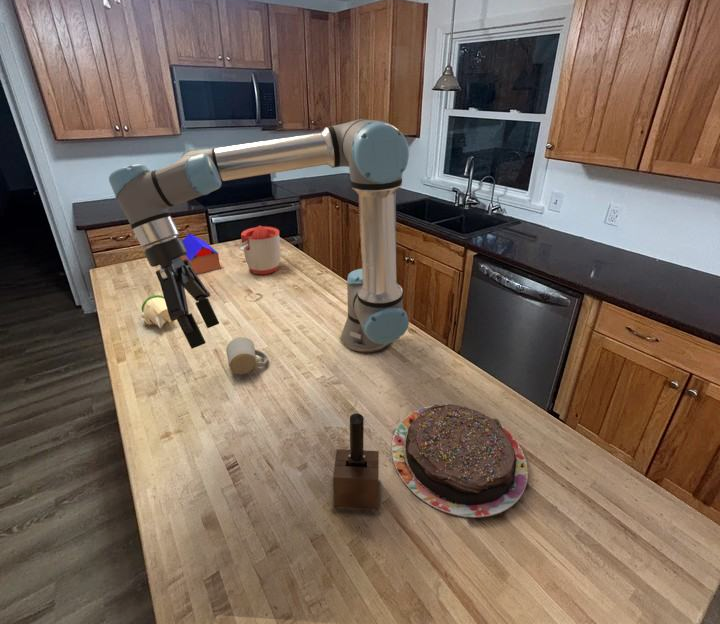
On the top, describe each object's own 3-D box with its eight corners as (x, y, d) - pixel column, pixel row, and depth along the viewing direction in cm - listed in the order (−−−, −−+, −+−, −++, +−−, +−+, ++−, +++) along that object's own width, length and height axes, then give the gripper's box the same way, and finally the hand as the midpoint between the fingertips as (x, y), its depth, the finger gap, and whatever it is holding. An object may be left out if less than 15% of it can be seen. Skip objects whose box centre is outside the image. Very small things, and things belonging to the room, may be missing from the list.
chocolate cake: (388, 406, 96) (389, 385, 93) (503, 409, 95) (507, 388, 92) (394, 520, 70) (395, 495, 67) (550, 525, 69) (558, 501, 67)
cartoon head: (164, 341, 124) (145, 315, 138) (187, 320, 127) (166, 296, 140) (143, 327, 118) (126, 301, 132) (168, 305, 121) (148, 281, 134)
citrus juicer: (235, 270, 168) (229, 225, 160) (270, 259, 179) (266, 217, 170) (253, 281, 158) (247, 235, 149) (289, 269, 168) (286, 225, 160)
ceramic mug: (231, 379, 104) (227, 356, 101) (227, 361, 111) (224, 339, 108) (270, 370, 108) (268, 347, 105) (265, 353, 115) (263, 331, 112)
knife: (348, 498, 73) (347, 423, 65) (349, 486, 75) (348, 412, 67) (364, 499, 73) (365, 424, 65) (364, 487, 75) (365, 413, 67)
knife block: (334, 510, 72) (332, 477, 68) (337, 481, 77) (336, 448, 73) (377, 513, 71) (378, 479, 68) (377, 483, 77) (378, 450, 73)
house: (193, 275, 163) (188, 249, 158) (180, 260, 177) (175, 236, 172) (221, 268, 170) (217, 243, 165) (206, 254, 184) (202, 230, 179)
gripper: (164, 244, 91) (203, 324, 95) (115, 256, 66) (171, 364, 71) (195, 232, 91) (233, 313, 96) (158, 240, 67) (210, 348, 71)
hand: (206, 335), depth 83 cm, fingers open, 13 cm apart
